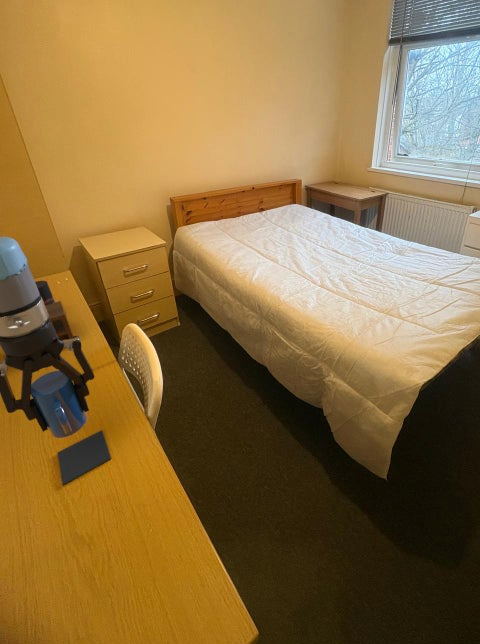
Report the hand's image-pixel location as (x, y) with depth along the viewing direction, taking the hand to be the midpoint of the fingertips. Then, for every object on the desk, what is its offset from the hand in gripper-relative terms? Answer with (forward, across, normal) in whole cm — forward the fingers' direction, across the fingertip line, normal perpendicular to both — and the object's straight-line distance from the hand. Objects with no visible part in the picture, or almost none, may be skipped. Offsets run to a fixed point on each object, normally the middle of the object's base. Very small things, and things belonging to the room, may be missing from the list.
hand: (65, 416), depth 66 cm
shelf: (+13, 0, +50) cm, 52 cm away
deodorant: (+13, 0, +66) cm, 67 cm away
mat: (+13, 0, 0) cm, 13 cm away
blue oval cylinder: (+2, 0, -1) cm, 3 cm away
